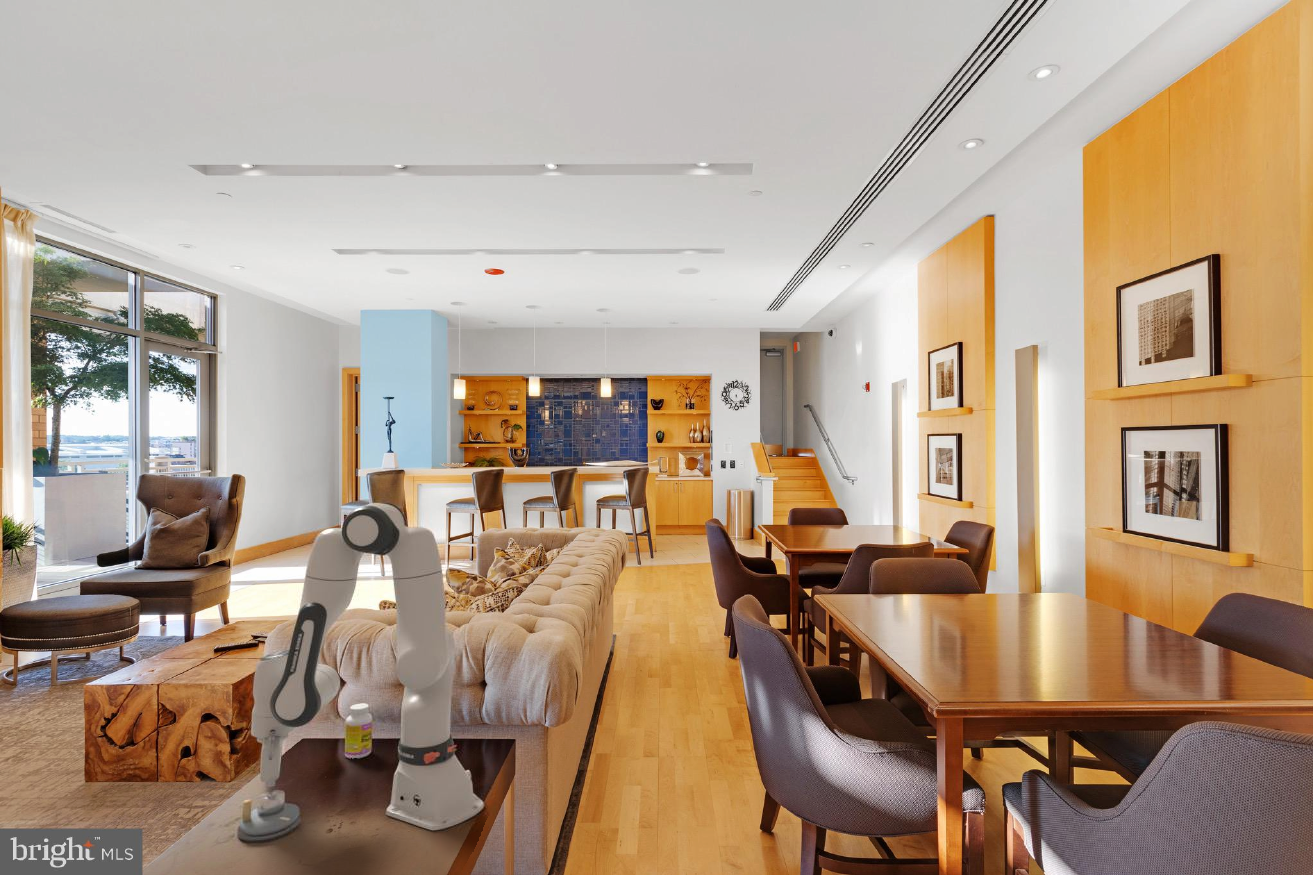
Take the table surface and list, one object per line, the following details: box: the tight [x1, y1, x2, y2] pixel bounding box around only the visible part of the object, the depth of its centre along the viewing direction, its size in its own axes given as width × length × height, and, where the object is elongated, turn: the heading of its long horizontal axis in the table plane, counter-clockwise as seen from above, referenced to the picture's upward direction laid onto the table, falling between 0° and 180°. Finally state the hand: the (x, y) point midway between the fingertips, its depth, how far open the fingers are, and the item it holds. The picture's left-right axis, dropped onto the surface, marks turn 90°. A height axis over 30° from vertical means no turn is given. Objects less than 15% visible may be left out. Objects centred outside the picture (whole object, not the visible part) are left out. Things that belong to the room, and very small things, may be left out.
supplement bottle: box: [344, 702, 373, 760], centre depth 186 cm, size 7×7×13 cm
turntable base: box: [237, 812, 302, 844], centre depth 148 cm, size 12×12×1 cm
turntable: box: [239, 799, 300, 835], centre depth 148 cm, size 11×11×5 cm
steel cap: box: [256, 789, 286, 817], centre depth 151 cm, size 5×5×4 cm
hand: (270, 784), depth 157 cm, fingers closed
